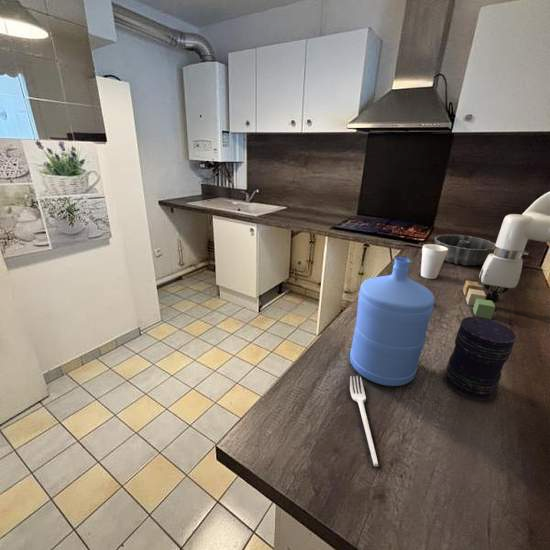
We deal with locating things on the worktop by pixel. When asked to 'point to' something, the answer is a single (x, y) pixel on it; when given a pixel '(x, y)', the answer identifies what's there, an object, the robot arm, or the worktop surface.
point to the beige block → (474, 296)
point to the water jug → (391, 326)
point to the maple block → (470, 286)
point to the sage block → (483, 308)
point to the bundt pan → (465, 249)
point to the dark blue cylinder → (479, 357)
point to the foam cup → (432, 260)
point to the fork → (363, 414)
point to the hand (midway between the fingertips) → (489, 302)
